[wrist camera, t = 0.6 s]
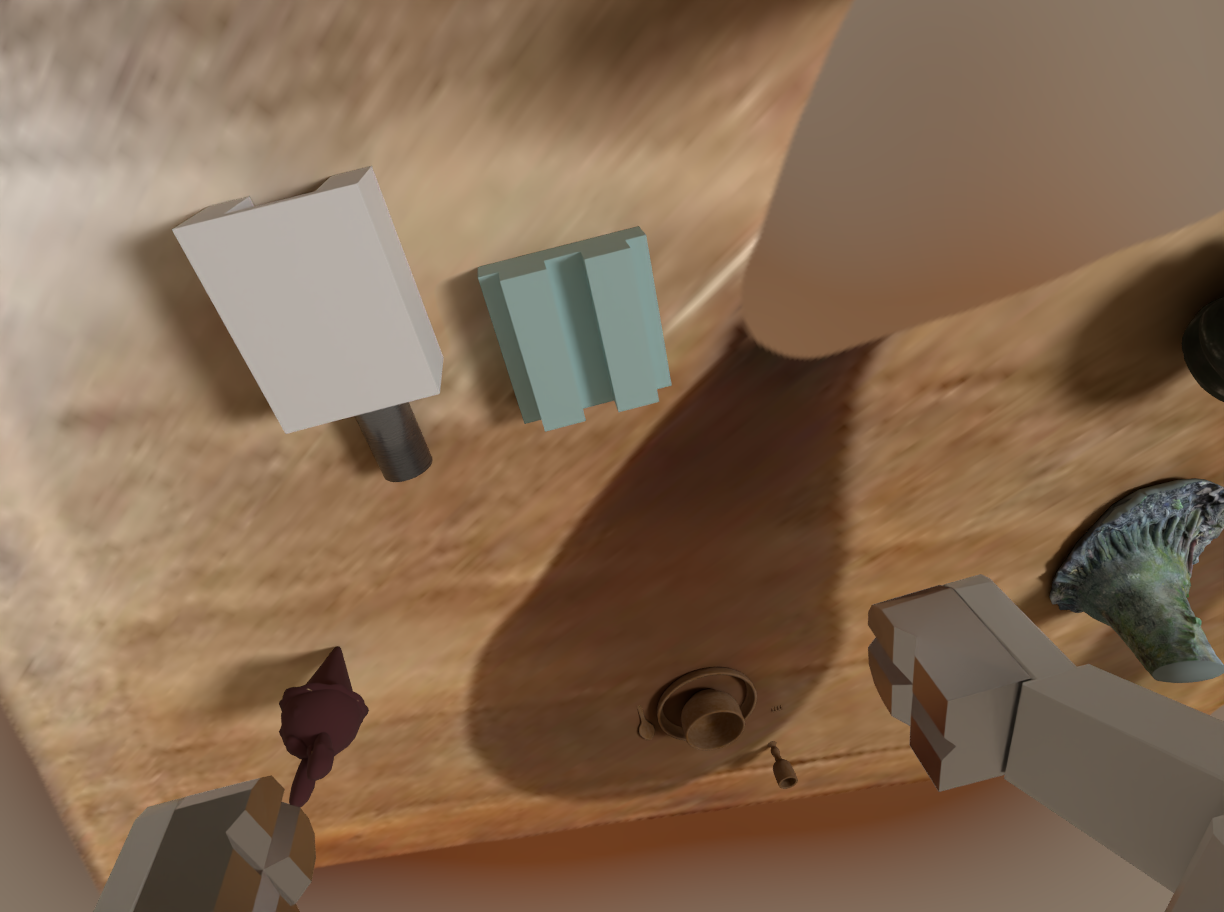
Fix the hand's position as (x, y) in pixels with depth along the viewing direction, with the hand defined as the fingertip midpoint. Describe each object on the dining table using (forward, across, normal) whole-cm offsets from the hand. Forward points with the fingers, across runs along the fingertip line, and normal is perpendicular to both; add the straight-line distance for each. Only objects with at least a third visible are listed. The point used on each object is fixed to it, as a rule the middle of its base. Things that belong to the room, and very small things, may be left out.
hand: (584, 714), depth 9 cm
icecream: (+44, +27, +37) cm, 64 cm away
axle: (+44, +13, +12) cm, 47 cm away
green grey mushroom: (+47, -60, +53) cm, 93 cm away
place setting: (+45, -7, +64) cm, 79 cm away
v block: (+44, -3, +11) cm, 45 cm away
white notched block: (+43, +13, +4) cm, 46 cm away
